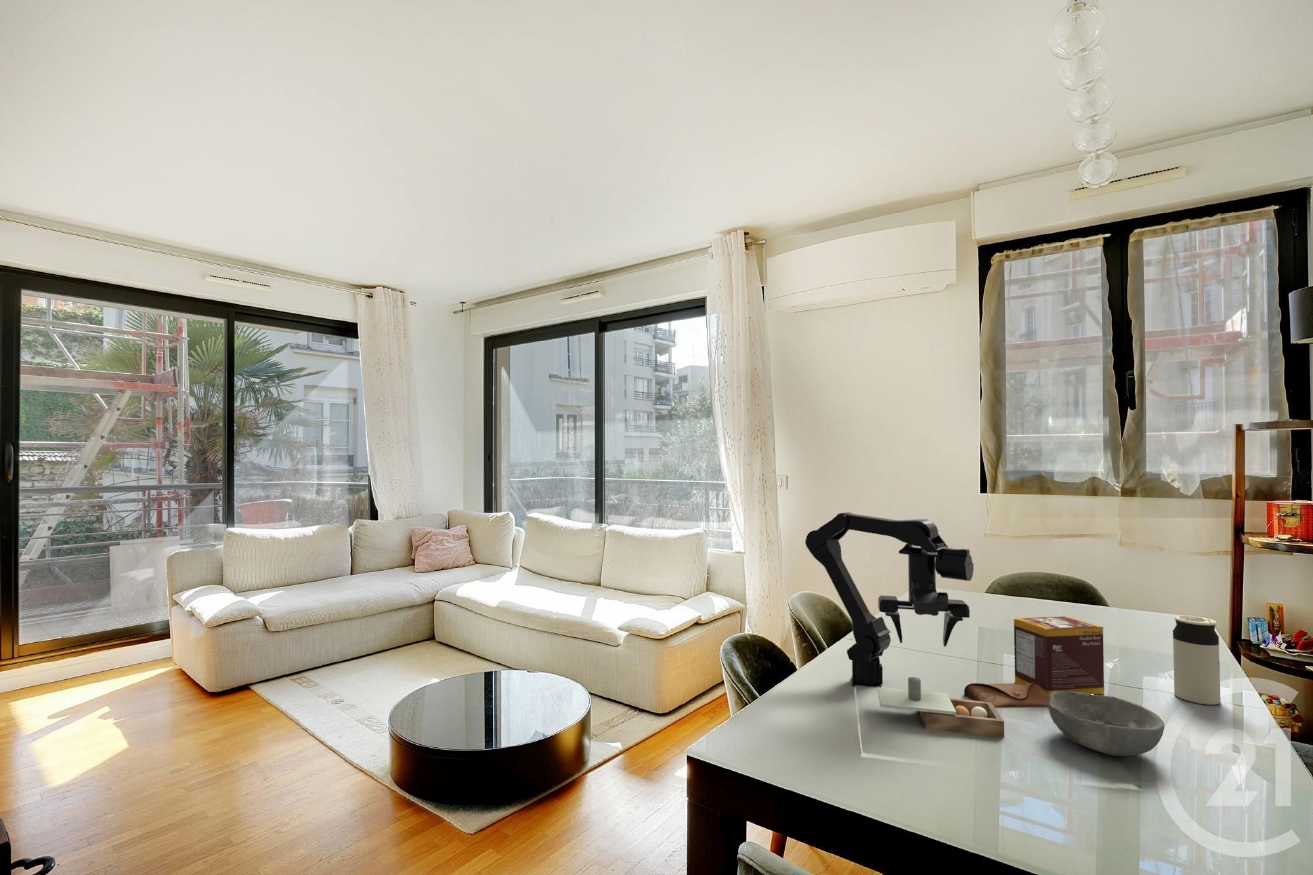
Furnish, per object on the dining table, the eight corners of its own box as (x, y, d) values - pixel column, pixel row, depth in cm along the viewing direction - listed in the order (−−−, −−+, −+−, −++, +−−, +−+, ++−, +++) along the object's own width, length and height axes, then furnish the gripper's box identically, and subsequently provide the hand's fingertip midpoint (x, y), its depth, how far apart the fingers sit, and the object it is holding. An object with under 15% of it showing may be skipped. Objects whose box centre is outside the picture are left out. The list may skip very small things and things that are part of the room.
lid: (880, 707, 127) (880, 683, 127) (877, 689, 137) (876, 668, 137) (956, 714, 123) (955, 691, 123) (947, 696, 133) (946, 674, 133)
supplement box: (1105, 694, 145) (1104, 626, 146) (1046, 698, 143) (1045, 628, 144) (1069, 679, 156) (1068, 615, 156) (1013, 682, 153) (1012, 617, 154)
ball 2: (973, 724, 127) (972, 708, 127) (969, 718, 130) (969, 703, 130) (989, 725, 126) (989, 710, 126) (985, 719, 129) (985, 705, 129)
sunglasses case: (985, 711, 135) (976, 679, 138) (969, 717, 141) (960, 685, 144) (1065, 709, 136) (1053, 677, 140) (1046, 715, 142) (1035, 684, 146)
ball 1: (954, 723, 127) (954, 708, 128) (951, 717, 130) (951, 702, 130) (970, 724, 127) (970, 709, 127) (967, 718, 129) (967, 704, 130)
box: (925, 731, 125) (925, 713, 125) (919, 712, 134) (918, 695, 134) (1004, 740, 121) (1004, 721, 121) (991, 719, 131) (991, 702, 131)
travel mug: (1173, 699, 143) (1171, 619, 143) (1175, 690, 148) (1173, 613, 149) (1220, 708, 137) (1217, 625, 138) (1221, 698, 143) (1218, 618, 144)
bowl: (1172, 783, 105) (1171, 734, 105) (1048, 756, 114) (1047, 712, 115) (1157, 743, 120) (1156, 700, 121) (1048, 722, 130) (1048, 682, 130)
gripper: (881, 579, 138) (882, 651, 138) (974, 584, 133) (975, 658, 133) (877, 570, 149) (878, 637, 148) (963, 575, 144) (964, 644, 143)
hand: (922, 644), depth 143 cm, fingers open, 9 cm apart
